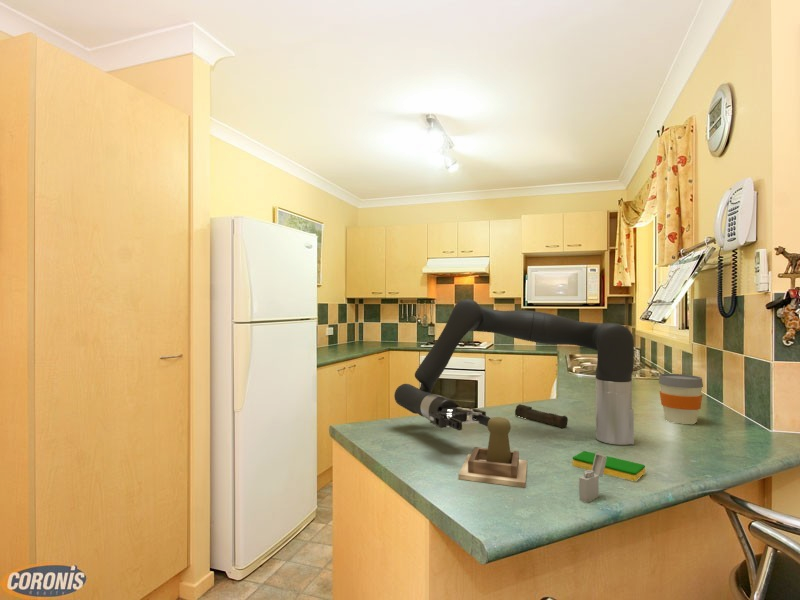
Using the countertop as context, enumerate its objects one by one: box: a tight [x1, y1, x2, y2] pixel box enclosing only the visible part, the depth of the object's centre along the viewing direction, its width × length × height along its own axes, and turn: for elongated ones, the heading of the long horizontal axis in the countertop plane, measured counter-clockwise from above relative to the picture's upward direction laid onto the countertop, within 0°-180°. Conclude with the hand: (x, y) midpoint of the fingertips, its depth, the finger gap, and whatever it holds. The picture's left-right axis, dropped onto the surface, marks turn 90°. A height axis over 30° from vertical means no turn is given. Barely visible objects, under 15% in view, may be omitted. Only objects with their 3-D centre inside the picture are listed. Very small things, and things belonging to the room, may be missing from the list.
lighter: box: [578, 452, 607, 503], centre depth 85 cm, size 7×2×8 cm, turn 124°
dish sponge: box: [572, 450, 646, 482], centre depth 100 cm, size 7×14×2 cm, turn 45°
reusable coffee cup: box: [658, 373, 704, 425], centre depth 144 cm, size 13×13×15 cm
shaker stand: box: [458, 446, 528, 488], centre depth 98 cm, size 14×14×4 cm
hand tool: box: [514, 404, 569, 429], centre depth 143 cm, size 19×4×5 cm, turn 36°
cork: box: [486, 416, 512, 464], centre depth 99 cm, size 6×6×11 cm
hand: (475, 424), depth 105 cm, fingers open, 8 cm apart
